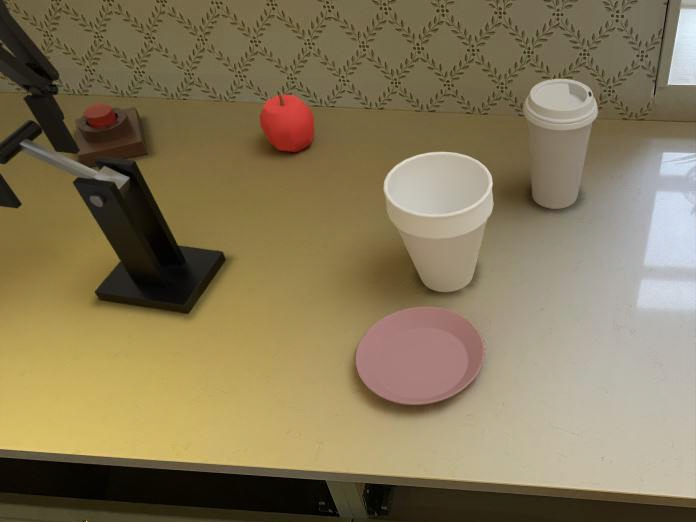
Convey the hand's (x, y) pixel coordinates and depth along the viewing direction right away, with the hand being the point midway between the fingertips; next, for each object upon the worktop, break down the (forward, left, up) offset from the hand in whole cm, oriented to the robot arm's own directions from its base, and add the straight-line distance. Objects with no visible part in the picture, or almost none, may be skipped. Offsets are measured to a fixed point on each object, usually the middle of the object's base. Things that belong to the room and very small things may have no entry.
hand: (39, 176), depth 73 cm
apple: (+13, +32, -14) cm, 37 cm away
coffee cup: (+55, +27, -14) cm, 63 cm away
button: (-15, +27, -10) cm, 33 cm away
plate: (+45, -7, -14) cm, 48 cm away
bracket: (+9, 0, -14) cm, 17 cm away
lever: (+4, 0, +1) cm, 4 cm away
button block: (-15, +27, -14) cm, 34 cm away
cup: (+44, +8, -14) cm, 47 cm away
